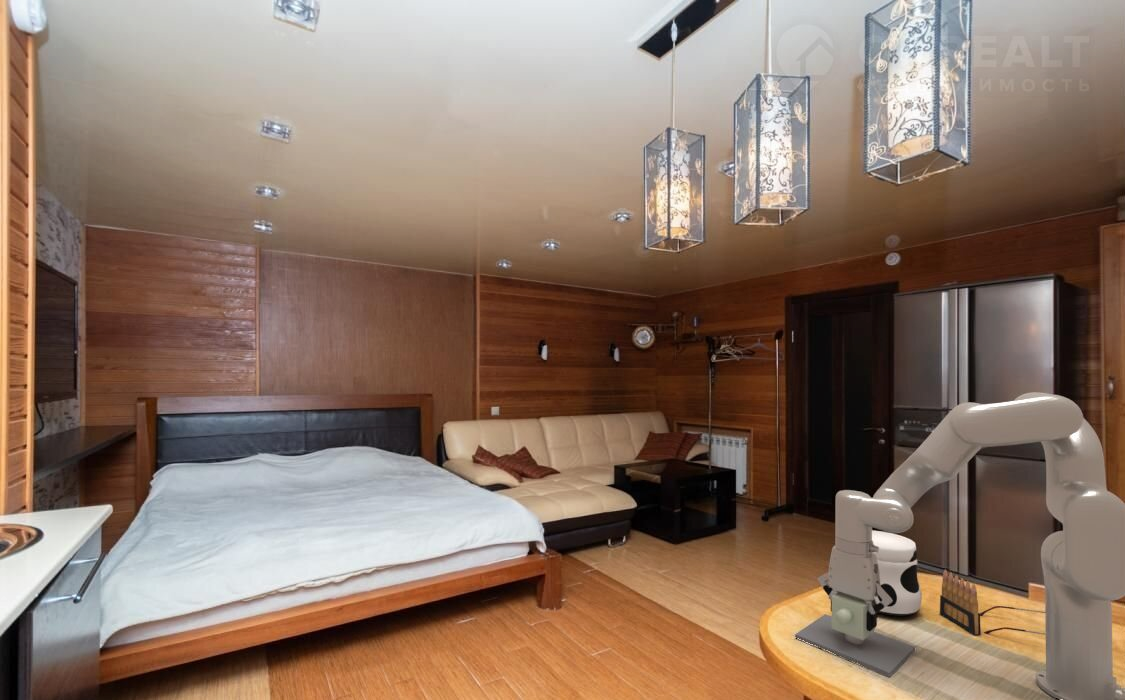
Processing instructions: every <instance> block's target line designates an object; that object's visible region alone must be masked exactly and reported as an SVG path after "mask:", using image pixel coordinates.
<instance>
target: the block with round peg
mask: <svg viewBox="0 0 1125 700" xmlns="http://www.w3.org/2000/svg"><path fill="white" fill-rule="evenodd" d="M867 613H868V608H867V604H866V603H865V601H864V600H862V599H859V598H856V597H853V596H850V595H847V594H844V593H841V592H838V594H835V595H833V596H832V612H831V616H832V629H835V630H837V631H840V632H842V633H845V634H848V635H850V636H853V637H855V638H858V639H861V640H864V639H866V638H867V637H868V636H869V635H870V634H871V633H873V632H876V627H875V628H874V629H872V630H871V631H868V630H867Z"/></svg>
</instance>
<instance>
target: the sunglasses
mask: <svg viewBox="0 0 1125 700" xmlns="http://www.w3.org/2000/svg"><path fill="white" fill-rule="evenodd" d="M1001 608H1002V609H1007V610H1008V609H1010V610H1011V609H1012V610H1017V611H1025V612H1033V613H1041V614H1042V613H1043V614H1045V610H1043V611H1042V610H1033V609H1028V608H1027V609H1025V608H1020V607H1013V606H1003V605H994V606H992V607H990V608H988V609H986V610H984V611H982V612H980V617H983V616H984V615H985V614H986V613H988V612H990V611H993V610H994V609H1001ZM1000 630H1001V631H1002V630H1011V631H1017V632H1023V633H1031V634H1038V635H1039V634H1040V635H1045V636H1046V632H1042V631H1041V632H1040V631H1035V630H1027V629H1022V628H1021V629H1020V628H1013V627H1007V626H1006V627H1005V626H1004V627H997V628H993V629H990V630H986V631H984V632H983V633H984V634H986V635H989V634H990V633H993V632H997V631H1000Z"/></svg>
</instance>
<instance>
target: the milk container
mask: <svg viewBox="0 0 1125 700" xmlns="http://www.w3.org/2000/svg"><path fill="white" fill-rule="evenodd" d="M872 541H873V544H874V545H875V546H878V547H879V551H878V553H877V552H872V553H873V554H876V557H877V561H878V566H879V573H880V584H881V587H882V589H883V590H884V591H885V592H886V593H887V594H888V595H889V596H890V597H891V599H892V600H893V602H892V603H890V604H889V605H887V606H886V607H885V608H883V609H882V610H880V611H878V612H877V614H882V615H887V616H888V615H889V616H894V617H895V616H897V617H898V616H900V617H902V616H903V617H904V616H910V615H914V614H916V613H917V612H919V610H920V608H921V604H922V600H923V599H922V598H923V596H922V590H921V587H920V583H919V579H918V559H917V558H918V553H917V546H916V542H915V541H913V540H912V539H910V538H908V537H905V536H902V535H899V534H898V533H893V532H888V531H883V530H873V529H872ZM874 598H875V600H876V602H877V604H878V603H880V602H881V601H882V598H881V597H880V596H878V597H874Z"/></svg>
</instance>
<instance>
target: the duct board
mask: <svg viewBox="0 0 1125 700" xmlns="http://www.w3.org/2000/svg"><path fill="white" fill-rule="evenodd" d="M795 637H796V638H799V639H801V640H804V641H805V642H808V643H810V644H813V645H816V646H818V647H820V648H823V649H825V650H828V651H830V652H832V653H834V654H836V655H839V656H841V657H843V658H846V659H848V660H850V661H849V662H851V661H853V662H855V663H858V664H860V665H862V666H861V667H863V666H864V667H863V668H865V667H866V669H868V670H871V671H873V672H875V673H877V674H880V675H882V676H885V677H887V678H891V677H892V676H893V675H894V673H896V672H897V670H899V669H900V667H902V666H903V664H904V663H905V662H907V660H908V659H909V658H911V656H913V654H914V653H915V652H916V645H915V646H914V645H912V644H910V643H907V642H904V641H900V640H898V639H895V638H892V637H890V636H887V635H884V634H882V633H879V632H876V631H874V632H873V633H871V634H870V635H869V636H868V637H867V638H866V639H864V640H861V639H858V638H855V637H853V636H850V635H848V634H845V633H842V632H840V631H837V630H835V629H832V615H829V614H826V613H825V614H823V615H821V616H819V618H817V619H816V620H814V621H813V622H811V623H809V624H808V625H807V626H805V627H804V628H802V629H801V630H799V631H798V632H796V633H794V638H795ZM805 642H804V643H805ZM810 644H809V645H810ZM834 654H833V655H834ZM836 655H835V656H836ZM839 656H838V657H839ZM841 657H840V658H841ZM843 658H842V659H843ZM846 659H845V660H846ZM848 660H847V661H848ZM853 662H852V663H853ZM855 663H854V664H855ZM858 664H857V665H858ZM860 665H859V666H860Z"/></svg>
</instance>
